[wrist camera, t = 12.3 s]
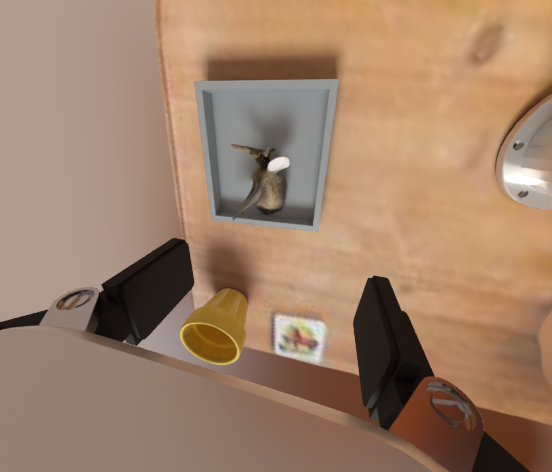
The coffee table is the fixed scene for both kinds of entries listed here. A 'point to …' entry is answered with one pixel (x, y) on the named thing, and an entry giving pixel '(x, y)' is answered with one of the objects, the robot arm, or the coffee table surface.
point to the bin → (267, 132)
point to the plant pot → (217, 328)
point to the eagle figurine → (265, 181)
